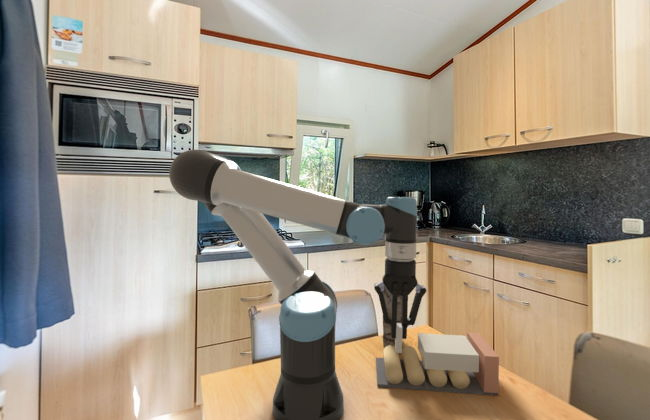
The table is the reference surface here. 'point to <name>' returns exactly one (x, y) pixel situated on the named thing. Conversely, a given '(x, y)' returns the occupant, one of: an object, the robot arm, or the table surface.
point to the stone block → (387, 327)
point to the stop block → (485, 363)
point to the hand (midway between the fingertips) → (398, 350)
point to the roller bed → (426, 382)
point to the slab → (447, 352)
